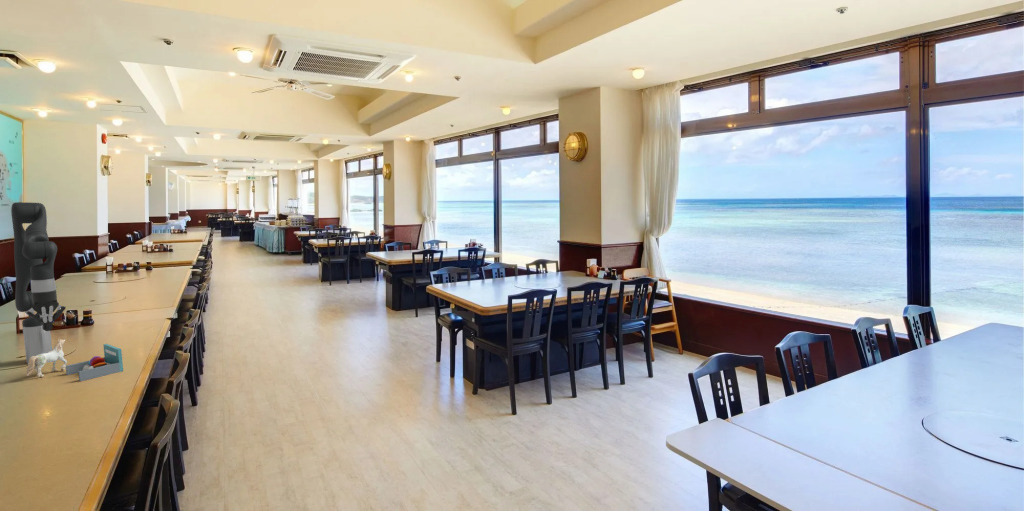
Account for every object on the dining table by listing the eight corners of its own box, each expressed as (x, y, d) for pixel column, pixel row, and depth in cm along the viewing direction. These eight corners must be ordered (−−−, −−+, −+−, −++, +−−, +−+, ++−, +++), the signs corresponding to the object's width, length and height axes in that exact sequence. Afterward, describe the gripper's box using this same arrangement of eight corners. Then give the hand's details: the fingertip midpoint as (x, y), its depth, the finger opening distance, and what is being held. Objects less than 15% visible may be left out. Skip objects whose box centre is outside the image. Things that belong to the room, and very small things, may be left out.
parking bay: (66, 374, 222) (64, 352, 221) (108, 364, 235) (106, 343, 234) (80, 381, 214) (78, 358, 213) (123, 371, 227) (121, 349, 226)
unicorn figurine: (78, 365, 235) (76, 336, 233) (43, 380, 216) (39, 349, 214) (62, 365, 234) (59, 337, 233) (24, 380, 215) (21, 349, 214)
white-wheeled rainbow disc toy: (90, 377, 219) (89, 361, 218) (81, 373, 224) (79, 357, 224) (114, 371, 226) (112, 355, 226) (104, 368, 232) (103, 352, 231)
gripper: (60, 286, 219) (64, 325, 222) (19, 291, 208) (23, 332, 210) (67, 288, 215) (71, 328, 218) (25, 293, 204) (30, 335, 207)
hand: (47, 330), depth 214 cm, fingers closed
